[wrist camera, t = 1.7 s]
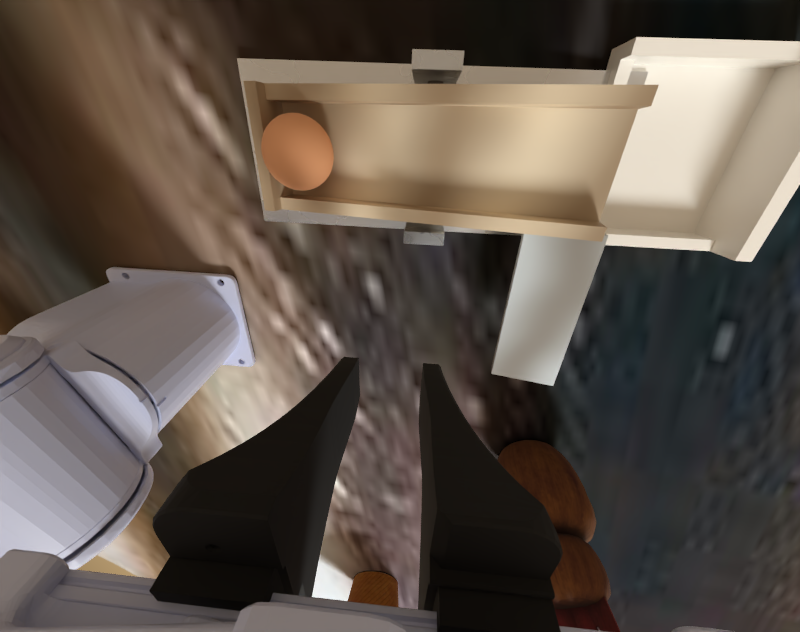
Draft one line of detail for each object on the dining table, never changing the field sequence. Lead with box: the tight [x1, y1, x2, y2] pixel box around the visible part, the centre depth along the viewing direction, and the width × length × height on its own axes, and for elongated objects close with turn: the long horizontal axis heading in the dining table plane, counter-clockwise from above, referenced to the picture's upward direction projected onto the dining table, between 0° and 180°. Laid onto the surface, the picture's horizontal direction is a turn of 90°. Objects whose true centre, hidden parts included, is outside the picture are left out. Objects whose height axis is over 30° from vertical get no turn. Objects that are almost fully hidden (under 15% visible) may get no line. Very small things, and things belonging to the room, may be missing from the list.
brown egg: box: [261, 113, 334, 191], centre depth 14 cm, size 3×3×3 cm
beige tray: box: [243, 80, 659, 386], centre depth 16 cm, size 17×15×3 cm
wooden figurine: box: [498, 440, 620, 632], centre depth 22 cm, size 7×6×15 cm
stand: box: [237, 49, 648, 246], centre depth 16 cm, size 20×8×4 cm, turn 88°
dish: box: [599, 37, 800, 262], centre depth 15 cm, size 8×9×4 cm
